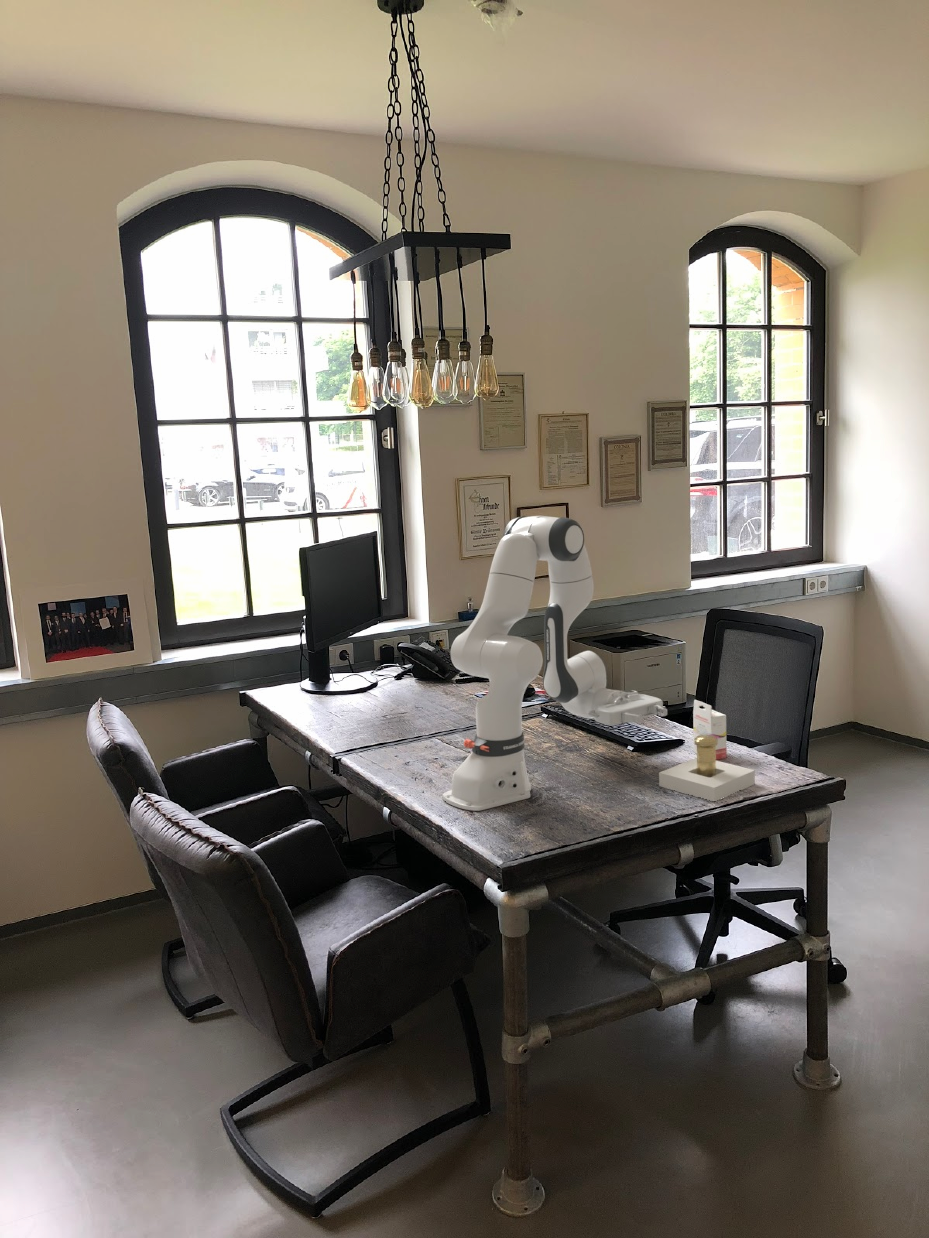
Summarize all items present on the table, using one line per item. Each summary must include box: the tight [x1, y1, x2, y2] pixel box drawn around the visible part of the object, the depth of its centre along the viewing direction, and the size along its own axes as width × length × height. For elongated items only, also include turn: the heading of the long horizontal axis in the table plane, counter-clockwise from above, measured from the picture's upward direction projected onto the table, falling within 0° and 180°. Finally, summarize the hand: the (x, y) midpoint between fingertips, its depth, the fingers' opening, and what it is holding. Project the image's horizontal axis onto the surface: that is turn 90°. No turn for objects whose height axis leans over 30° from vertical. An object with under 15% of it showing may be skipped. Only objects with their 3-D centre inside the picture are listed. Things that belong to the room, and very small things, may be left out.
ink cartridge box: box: [692, 699, 728, 761], centre depth 257 cm, size 9×5×15 cm, turn 21°
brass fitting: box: [693, 735, 718, 778], centre depth 236 cm, size 5×5×12 cm
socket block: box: [658, 757, 756, 802], centre depth 237 cm, size 16×16×4 cm
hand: (653, 716), depth 246 cm, fingers open, 8 cm apart
